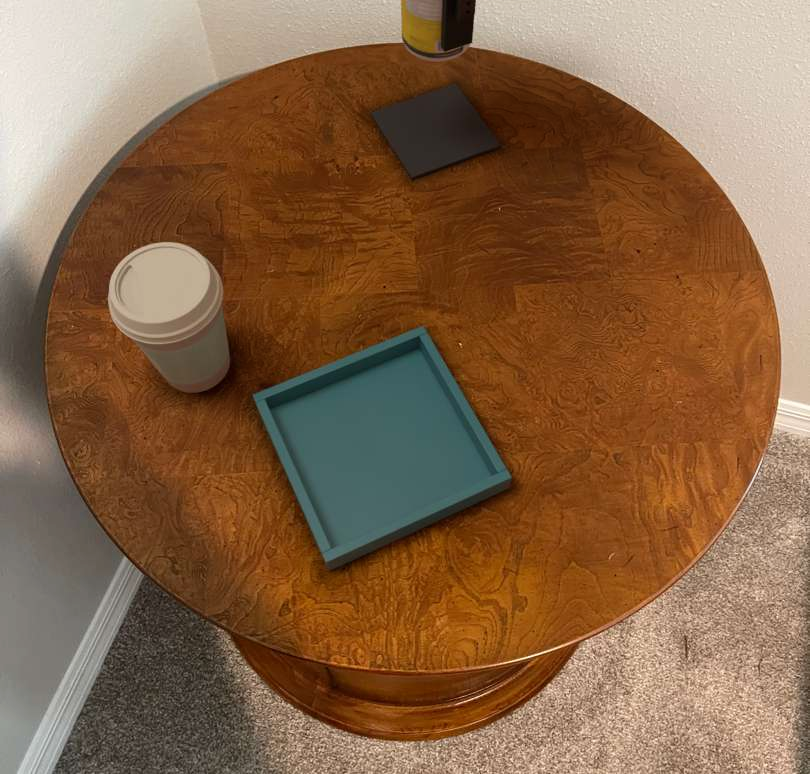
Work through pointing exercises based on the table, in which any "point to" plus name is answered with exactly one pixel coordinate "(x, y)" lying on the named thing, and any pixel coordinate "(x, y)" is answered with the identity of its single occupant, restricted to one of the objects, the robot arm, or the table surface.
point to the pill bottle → (425, 30)
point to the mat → (434, 131)
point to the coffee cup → (173, 313)
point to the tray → (379, 446)
